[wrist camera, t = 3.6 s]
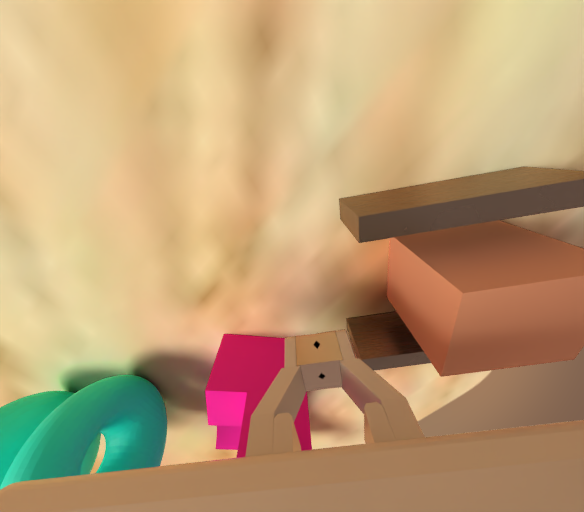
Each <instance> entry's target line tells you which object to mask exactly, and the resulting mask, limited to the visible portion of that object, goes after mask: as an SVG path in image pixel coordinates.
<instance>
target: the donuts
mask: <svg viewBox="0 0 584 512" xmlns="http://www.w3.org/2000/svg"><path fill="white" fill-rule="evenodd" d="M101 433H102V434H103V435H104V437H105V440H106V450H105V455H104V458H103V461H102V463H101V465H100V467H99V469H98V470H97V472H96V473H103V472H113V471H122V470H131V469H140V468H149V467H158V466H160V464H161V460H162V456H163V453H164V448H165V443H166V435H167V415H166V409H165V404H164V402H163V399H162V396H161V395H160V393H159V391H158V390H157V388H156V387H155V386H154V385H153V384H152V383H151V382H149V381H148V380H146V379H144V378H142V377H139V376H135V375H117V376H112V377H108V378H104V379H101V380H99V381H96V382H94V383H92V384H90V385H88V386H86V387H84V388H83V389H81V390H79V391H78V392H76V393H73V392H67V391H48V392H42V393H38V394H34V395H30V396H27V397H24V398H21V399H18V400H16V401H13V402H11V403H9V404H6V405H4V406H2V407H1V408H0V490H1V489H2V488H4V487H6V486H8V485H10V484H12V483H16V482H21V481H29V480H39V479H48V478H58V477H67V476H76V475H85V474H90V472H91V470H92V467H93V465H94V462H95V459H96V456H97V453H98V449H99V445H100V437H101Z"/></svg>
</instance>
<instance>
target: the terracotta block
mask: <svg viewBox="0 0 584 512" xmlns="http://www.w3.org/2000/svg"><path fill="white" fill-rule="evenodd" d="M387 298H388V300H389V301H390V303H391V304H392V306H393V307H394V309H395V310H396V312H397V313H398V314H399V316H400V317H401V319H402V320H403V322H404V323H405V325H406V326H407V328H408V329H409V331H410V332H411V334H412V335H413V336H414V338H415V339H416V341H417V342H418V344H419V345H420V347H421V348H422V350H423V351H424V353H425V354H426V355H427V357H428V358H429V360H430V361H431V363H432V364H433V366H434V367H435V369H436V370H437V372H438V373H439V375H440V376H441V377H442V376H449V375H457V374H465V373H473V372H481V371H488V370H495V369H504V368H512V367H520V366H526V365H535V364H543V363H551V362H558V361H566V360H574V359H575V358H576V356H577V355H578V354H579V352H580V351H581V349H582V348H583V346H584V249H583V248H580V247H577V246H574V245H571V244H568V243H565V242H562V241H559V240H556V239H553V238H550V237H547V236H544V235H542V234H539V233H536V232H533V231H530V230H527V229H524V228H521V227H518V226H515V225H512V224H509V223H506V222H503V221H500V220H497V221H491V222H485V223H479V224H472V225H466V226H460V227H454V228H448V229H442V230H436V231H429V232H423V233H417V234H411V235H405V236H399V237H393V238H390V243H389V262H388V282H387Z"/></svg>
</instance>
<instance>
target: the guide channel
mask: <svg viewBox="0 0 584 512" xmlns="http://www.w3.org/2000/svg"><path fill="white" fill-rule="evenodd" d="M339 203H340V219H341V220H342V222H343V223H344V224H345V226H346V227H347V228H348V229H349V231H350V232H351V233H352V234H353V236H354V237H355V238H356V240H357V241H358V242H359V243H362V242H368V241H374V240H380V239H386V238H393V237H399V236H405V235H411V234H417V233H423V232H429V231H436V230H442V229H448V228H454V227H460V226H466V225H472V224H479V223H485V222H491V221H497V220H503V219H509V218H515V217H521V216H528V215H534V214H540V213H546V212H552V211H558V210H564V209H571V208H577V207H583V206H584V171H577V170H563V169H549V168H536V167H519V168H513V169H507V170H502V171H496V172H490V173H484V174H479V175H473V176H467V177H462V178H456V179H450V180H444V181H439V182H433V183H427V184H422V185H416V186H410V187H404V188H399V189H393V190H387V191H381V192H376V193H370V194H364V195H359V196H353V197H347V198H341V199H339ZM347 330H348V333H349V336H350V339H351V342H352V345H353V348H354V351H355V354H356V357H357V358H359V359H361V360H362V361H363V362H364V363H365V364H366V365H368V366H369V367H370V368H371V369H372V370H380V369H388V368H396V367H403V366H411V365H419V364H426V363H431V361H430V360H429V358H428V357H427V355H426V354H425V353H424V351H423V350H422V348H421V347H420V345H419V344H418V342H417V341H416V339H415V338H414V336H413V335H412V334H411V332H410V331H409V329H408V328H407V326H406V325H405V323H404V322H403V320H402V319H401V317H400V316H399V314H398V313H397V312H390V313H383V314H376V315H369V316H362V317H355V318H348V319H347Z"/></svg>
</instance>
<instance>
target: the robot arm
mask: <svg viewBox="0 0 584 512" xmlns="http://www.w3.org/2000/svg"><path fill="white" fill-rule="evenodd" d="M337 387H342V388H343V389H344V390H345V392H346V393H347V394H348V395H349V397H350V398H351V399H352V400H353V401H354V403H355V404H356V405H357V406H358V408H359V409H360V410H361V411H362V412H363V414H364V440H365V443H366V444H359V445H350V446H341V447H332V448H323V449H313V450H304V451H301V445H300V442H299V439H298V435H297V432H296V428H295V425H294V421H295V418H296V416H297V413H298V411H299V409H300V406H301V404H302V401H303V399H304V396H305V394H306V391H312V390H319V389H326V388H337ZM0 512H584V420H579V421H571V422H561V423H552V424H543V425H534V426H524V427H515V428H507V429H497V430H488V431H480V432H471V433H461V434H452V435H442V436H433V437H425V436H424V434H423V432H422V430H421V428H420V426H419V424H418V422H417V420H416V418H415V416H414V414H413V412H412V410H411V408H410V406H409V403H408V401H407V399H406V398H405V397H404V396H403V395H402V394H401V393H399V392H398V391H397V390H396V389H395V388H394V387H392V386H391V385H390V384H389V383H388V382H386V381H385V380H384V379H383V378H382V377H381V376H379V375H378V374H377V373H376V372H375V371H374V370H372V369H371V368H370V367H369V366H368V365H366V364H365V363H364V362H363V361H362V360H361V359H359V358H355V355H354V352H353V349H352V346H351V343H350V340H349V337H348V334H347V331H346V330H345V329H344V330H337V331H329V332H323V333H316V334H310V335H301V336H293V337H285V368H281V370H280V371H279V373H278V375H277V376H276V378H275V379H274V381H273V382H272V384H271V385H270V387H269V389H268V390H267V392H266V393H265V395H264V396H263V398H262V400H261V401H260V403H259V404H258V406H257V407H256V409H255V411H254V412H253V414H252V415H251V420H250V427H249V435H248V442H247V449H246V456H245V457H240V458H231V459H222V460H213V461H204V462H195V463H186V464H176V465H167V466H158V467H149V468H140V469H131V470H122V471H113V472H103V473H94V474H85V475H76V476H67V477H58V478H48V479H39V480H29V481H21V482H16V483H12V484H10V485H8V486H6V487H4V488H2V489H1V490H0Z"/></svg>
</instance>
